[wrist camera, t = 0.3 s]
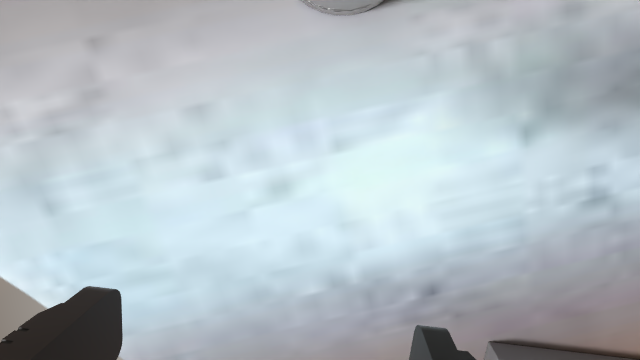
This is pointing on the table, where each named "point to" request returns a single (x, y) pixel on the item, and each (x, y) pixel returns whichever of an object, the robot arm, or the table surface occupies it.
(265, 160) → the table surface
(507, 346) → the grey stand
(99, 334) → the robot arm
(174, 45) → the table surface
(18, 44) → the table surface
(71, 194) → the table surface
